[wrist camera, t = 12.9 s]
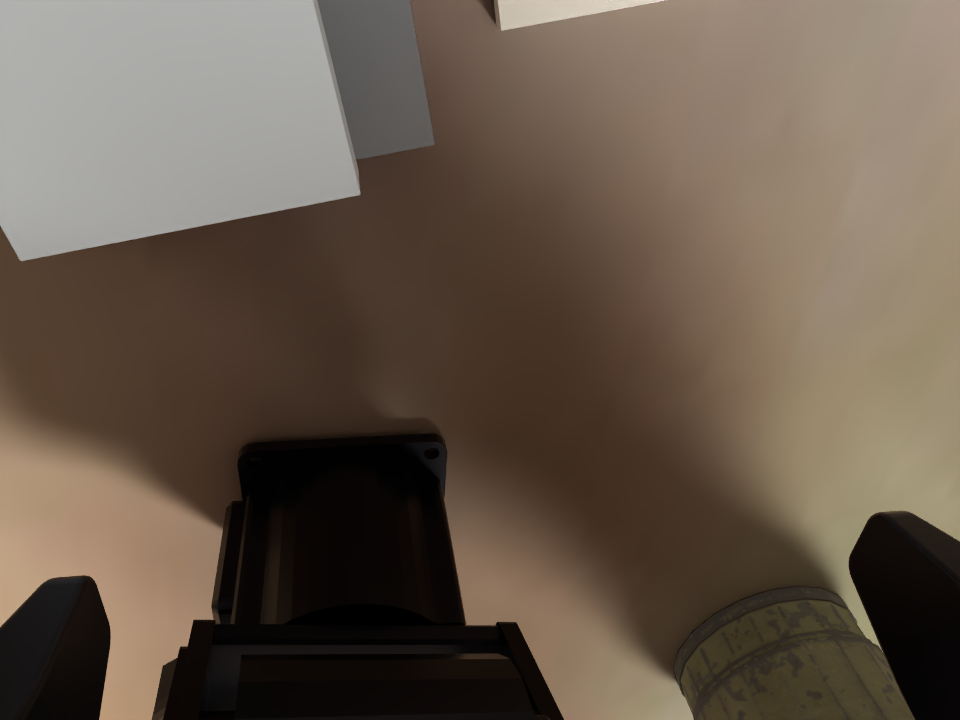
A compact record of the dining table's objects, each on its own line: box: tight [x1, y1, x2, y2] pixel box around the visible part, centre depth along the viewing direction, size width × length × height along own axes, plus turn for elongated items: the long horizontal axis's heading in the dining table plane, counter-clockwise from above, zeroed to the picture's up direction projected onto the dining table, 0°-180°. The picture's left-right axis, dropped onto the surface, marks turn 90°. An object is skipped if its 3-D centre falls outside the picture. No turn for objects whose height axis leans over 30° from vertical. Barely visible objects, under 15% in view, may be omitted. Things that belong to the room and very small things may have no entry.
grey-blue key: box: [0, 0, 361, 261], centre depth 13 cm, size 6×6×1 cm
